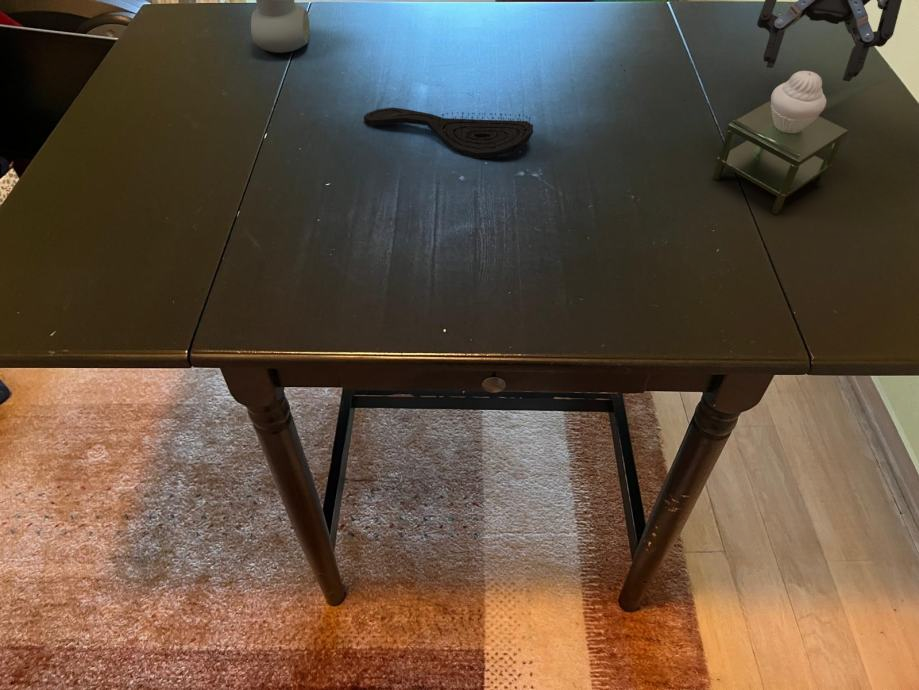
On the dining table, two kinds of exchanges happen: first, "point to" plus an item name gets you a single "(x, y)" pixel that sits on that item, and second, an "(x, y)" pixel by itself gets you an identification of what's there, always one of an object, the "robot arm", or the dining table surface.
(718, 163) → the side table
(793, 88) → the muffin
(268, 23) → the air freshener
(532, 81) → the dining table surface
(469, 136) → the hairbrush
